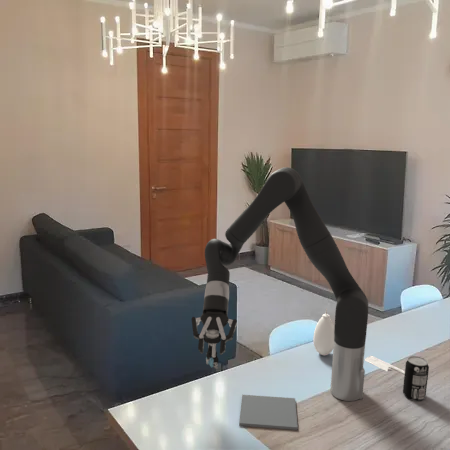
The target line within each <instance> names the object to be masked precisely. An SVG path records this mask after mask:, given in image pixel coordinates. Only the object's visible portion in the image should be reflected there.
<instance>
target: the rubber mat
mask: <svg viewBox="0 0 450 450" xmlns="http://www.w3.org/2000/svg"><path fill="white" fill-rule="evenodd" d="M296 405H297V404H296V398H295V397H283V396H281V397H280V396H266V395H253V394H252V395H250V394H242V395H241V402H240V410H239V411H240V413H239V414H240V415H239V422H238V423H239V424H238V426H241V427H254V428H267V429H280V430H291V431H292V430H295V431H298V429H299V426H298V416H297V406H296Z"/></svg>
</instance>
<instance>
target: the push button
mask: <svg viewBox="0 0 450 450" xmlns="http://www.w3.org/2000/svg"><path fill="white" fill-rule="evenodd" d="M203 337H204V343H206V344H208V348H207V351H206V352H205V361H206V362H205V363H206V365H209V366H210V368H214V369H219V357H218V351H217V348H216V347H217V344H219V343H221V340H222V338H221V337H222V336H221V334H220V332H218V331H217V330H208V331H207V332H206V333H205V334H204V335H203Z"/></svg>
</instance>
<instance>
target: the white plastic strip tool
mask: <svg viewBox="0 0 450 450" xmlns="http://www.w3.org/2000/svg"><path fill="white" fill-rule="evenodd" d="M364 361H365V362H367V363H370V364H372V365H373V366H375V367H377V368H379V369H380V370H383V371H385V372H388V371H391V370H394V371H397V372H398V373H400V374H402V375H405V370H403V369H402V368H399V367H397V366H395V365H393V364H390V363H389V362H387V361H384V360H382V359H380V358H378V357H376V356H373V355H370V356H367V357H365V358H364Z"/></svg>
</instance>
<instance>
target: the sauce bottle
mask: <svg viewBox="0 0 450 450" xmlns="http://www.w3.org/2000/svg"><path fill="white" fill-rule="evenodd" d="M334 327H335V323H334V322H333V321H332V319H331V316H330V314H328V308H327V307H326V309H325V313H323V314H322V315H321V317H320V318H319V320H318V321H317V324H315V328H314V332H313V340H312V341H313V346H314V349H315V350H316V352H317V353H318V354H319V355H321V356H327V355H329V354H331V353H333V348H334Z"/></svg>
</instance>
